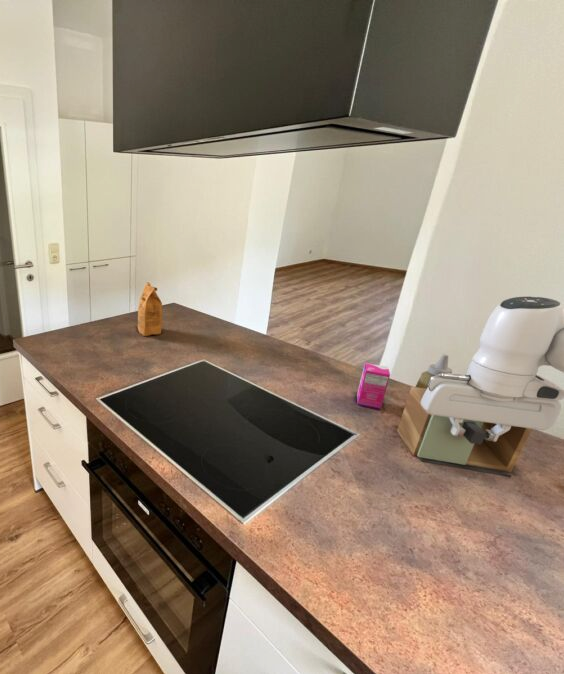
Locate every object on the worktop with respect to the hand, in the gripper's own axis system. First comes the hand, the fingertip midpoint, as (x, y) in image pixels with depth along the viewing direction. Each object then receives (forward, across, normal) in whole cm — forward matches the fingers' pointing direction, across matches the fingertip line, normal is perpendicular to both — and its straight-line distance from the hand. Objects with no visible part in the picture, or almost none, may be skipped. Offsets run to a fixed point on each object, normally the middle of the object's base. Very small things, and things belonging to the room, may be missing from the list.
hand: (472, 436), depth 76 cm
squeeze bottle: (+10, +3, +24) cm, 26 cm away
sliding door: (+8, -2, 0) cm, 9 cm away
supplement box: (+10, -10, +26) cm, 30 cm away
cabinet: (+9, +2, +8) cm, 13 cm away
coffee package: (+10, -85, +66) cm, 108 cm away
